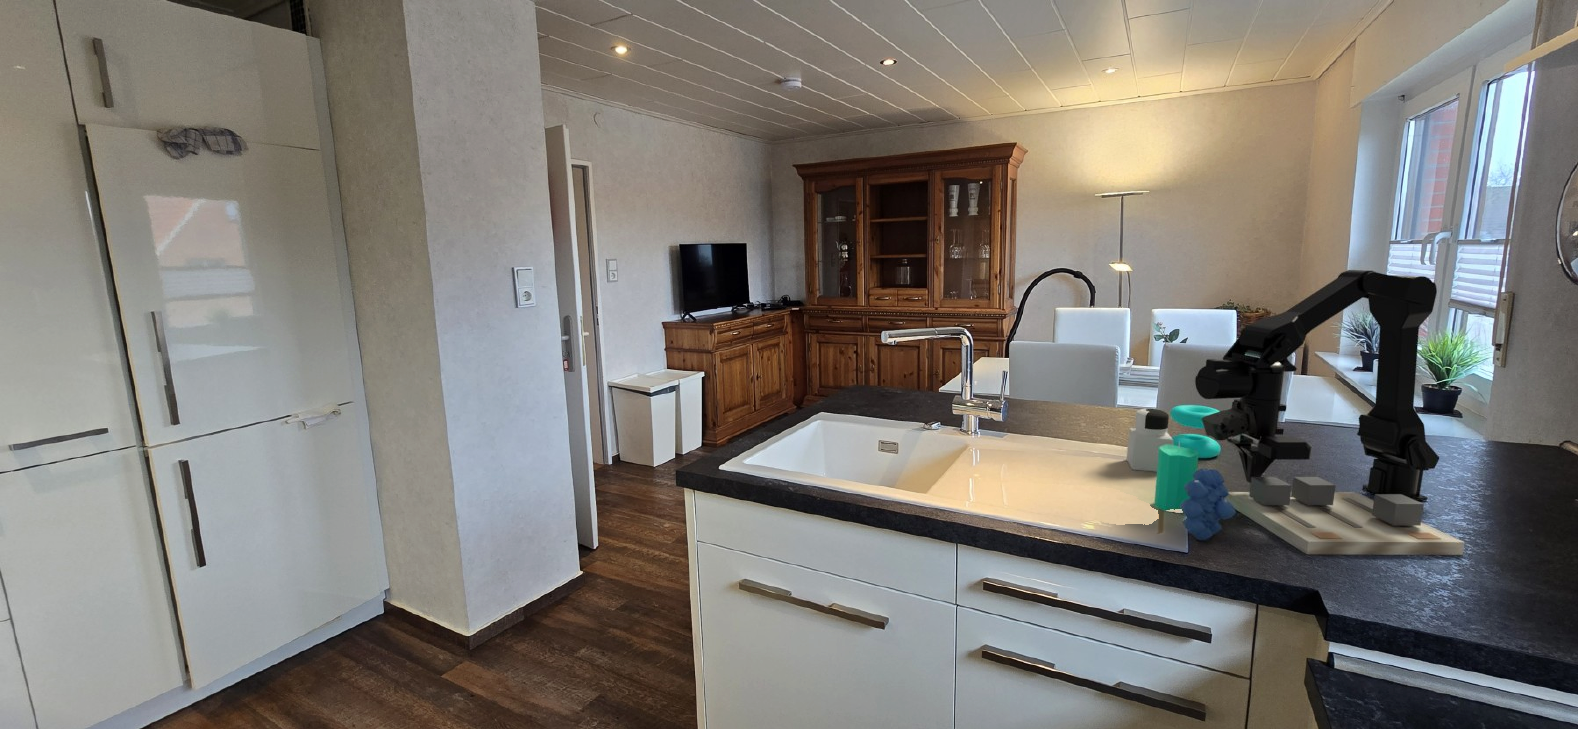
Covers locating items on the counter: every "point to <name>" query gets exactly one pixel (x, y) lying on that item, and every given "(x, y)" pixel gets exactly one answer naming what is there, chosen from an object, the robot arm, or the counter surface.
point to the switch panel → (1344, 527)
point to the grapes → (1206, 504)
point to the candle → (1174, 475)
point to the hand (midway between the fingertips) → (1251, 482)
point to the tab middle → (1313, 490)
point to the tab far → (1270, 491)
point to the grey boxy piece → (1397, 509)
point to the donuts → (1193, 418)
